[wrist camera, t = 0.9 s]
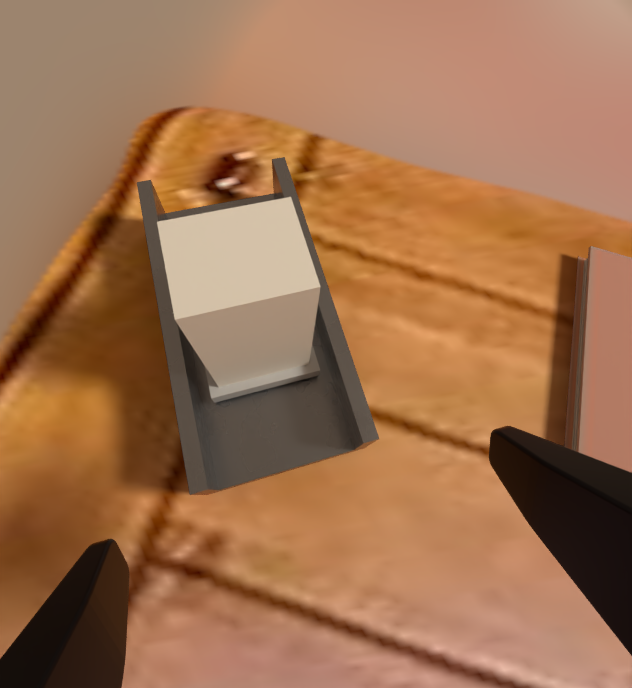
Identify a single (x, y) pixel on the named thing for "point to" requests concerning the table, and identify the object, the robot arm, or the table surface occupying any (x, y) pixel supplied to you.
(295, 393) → the rail housing
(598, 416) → the notebook
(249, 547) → the table surface
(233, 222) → the cream rectangular block
